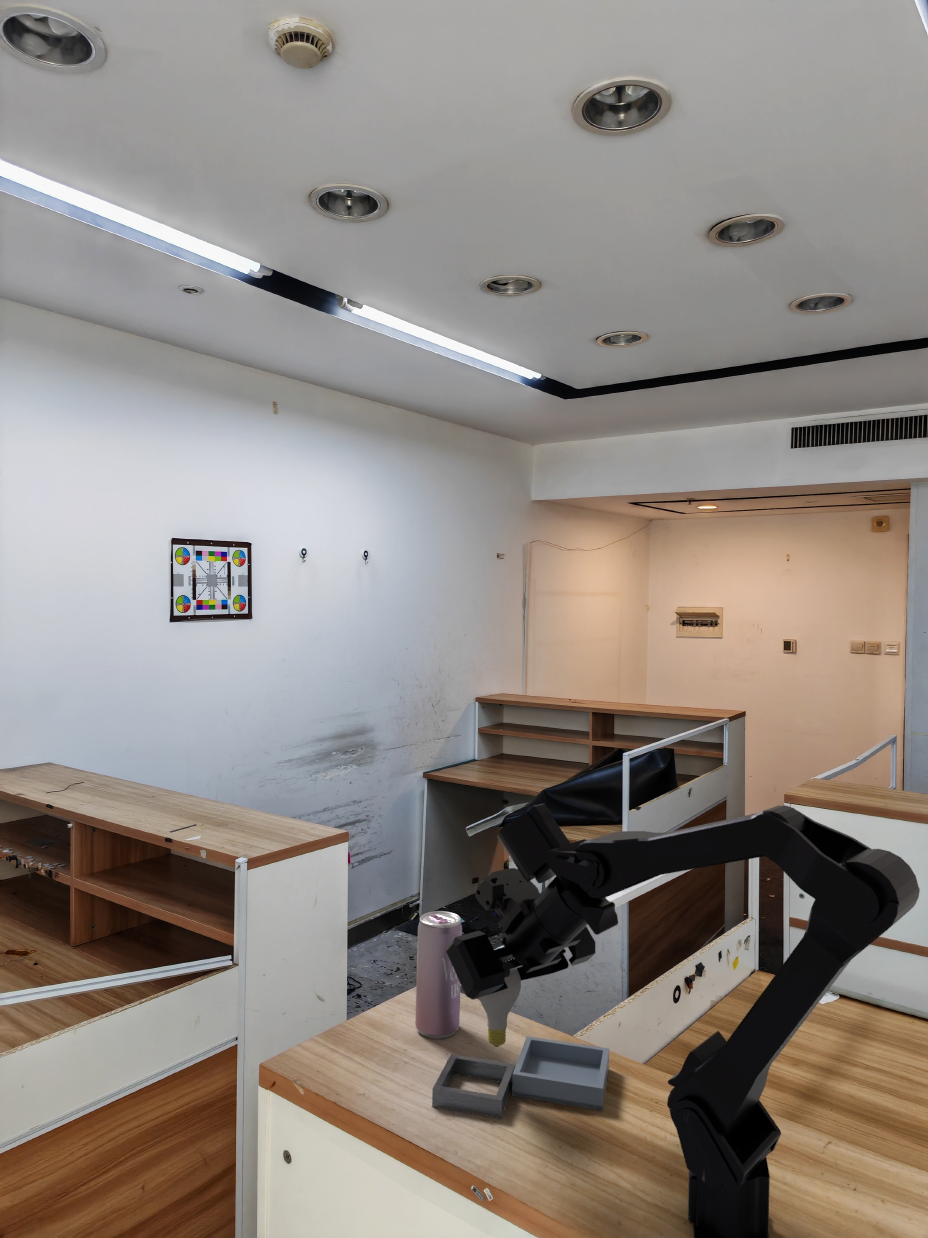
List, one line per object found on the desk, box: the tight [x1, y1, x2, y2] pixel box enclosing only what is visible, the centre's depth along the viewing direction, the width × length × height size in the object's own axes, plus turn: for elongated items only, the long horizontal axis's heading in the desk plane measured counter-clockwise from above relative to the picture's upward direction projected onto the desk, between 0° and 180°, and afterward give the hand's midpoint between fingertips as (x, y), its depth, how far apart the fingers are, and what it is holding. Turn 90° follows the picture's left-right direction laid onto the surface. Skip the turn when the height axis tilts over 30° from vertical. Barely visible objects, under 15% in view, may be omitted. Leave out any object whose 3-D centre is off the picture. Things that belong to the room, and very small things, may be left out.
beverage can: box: [414, 910, 463, 1040], centre depth 110 cm, size 6×6×15 cm
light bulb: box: [478, 968, 522, 1048], centre depth 96 cm, size 5×6×10 cm
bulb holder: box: [431, 1053, 516, 1119], centre depth 95 cm, size 8×8×2 cm
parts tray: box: [511, 1035, 610, 1112], centre depth 98 cm, size 10×9×2 cm
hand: (490, 985), depth 97 cm, fingers closed on light bulb, 5 cm apart
